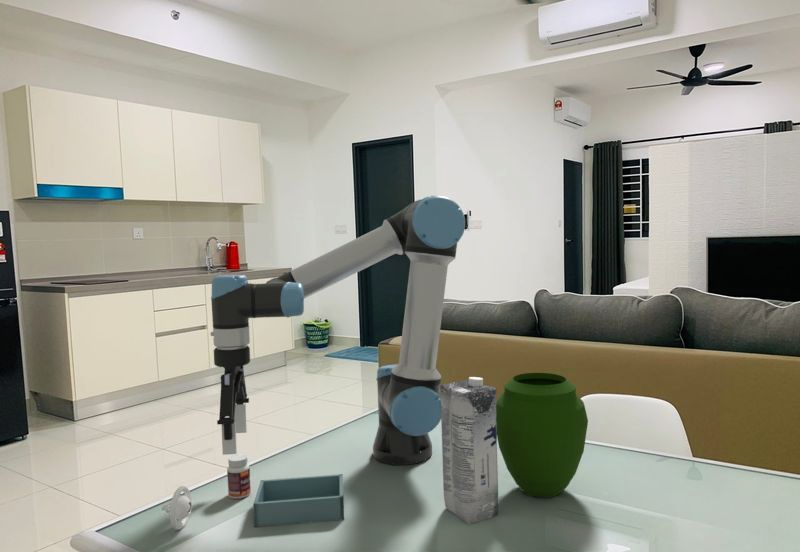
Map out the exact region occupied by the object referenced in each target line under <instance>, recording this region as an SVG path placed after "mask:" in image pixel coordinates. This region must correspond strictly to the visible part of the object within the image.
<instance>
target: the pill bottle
mask: <svg viewBox="0 0 800 552" xmlns="http://www.w3.org/2000/svg"><path fill="white" fill-rule="evenodd" d="M227 462H228V467H227V474H226V475H227V487H228V490H227V491H228V497H229V498H230V499H234V500H241V499H244V498H247V497H249V496H250V495H251V494H252V493H251V472H250V469H251V468H250V465H249V462H248V456H247V455H246V454H233V455H231V456H229V457H228V461H227Z"/></svg>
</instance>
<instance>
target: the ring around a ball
mask: <svg viewBox="0 0 800 552" xmlns="http://www.w3.org/2000/svg"><path fill="white" fill-rule="evenodd" d="M182 492H183V493H184V495H181V494H182ZM192 507H193V502H192V496H191V491H190V489H189V487H187V486H186V485H181V486H179V487H178V488H177V489H176V490H175V491H174V493H173V495H172V498H171V501H169V502H167V503H166V504H163V505H162V506H161V510H162V511H165V512H166V513H167V514H169V521H170V524H171V527H172V528H173V529H174V530H177V531H180V530H181V529H183V528H184V527H185V525H186V524H187V522H188V520H189V518H190V515H191V512H192V509H193V508H192ZM177 520H180V522H179V523H178V521H177Z"/></svg>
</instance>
